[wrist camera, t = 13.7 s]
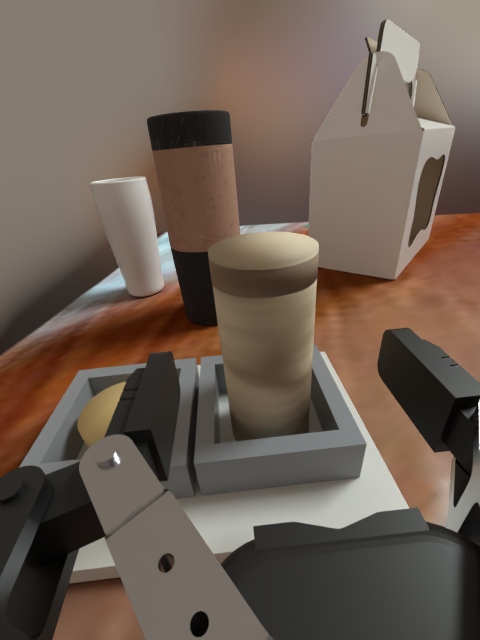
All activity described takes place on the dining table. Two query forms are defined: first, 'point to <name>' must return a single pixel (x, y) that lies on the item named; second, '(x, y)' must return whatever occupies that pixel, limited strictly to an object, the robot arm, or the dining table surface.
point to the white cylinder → (131, 231)
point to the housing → (231, 459)
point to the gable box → (379, 162)
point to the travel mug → (195, 197)
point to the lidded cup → (266, 329)
